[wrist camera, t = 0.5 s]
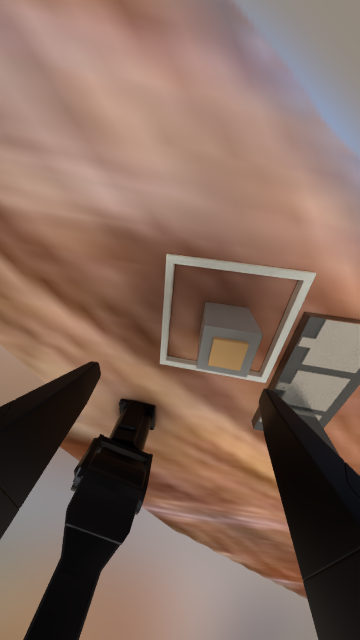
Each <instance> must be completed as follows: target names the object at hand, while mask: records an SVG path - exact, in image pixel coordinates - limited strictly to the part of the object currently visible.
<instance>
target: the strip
mask: <svg viewBox="0 0 360 640" xmlns="http://www.w3.org/2000/svg"><path fill="white" fill-rule="evenodd" d="M359 385H360V320H356V319H349V318H342V317H335V316H328V315H321V314H314V313H308V312H304V314H303V316H302V319H301V321H300V323H299V325H298V327H297V329H296V331H295V333H294V335H293V337H292V339H291V341H290V343H289V346H288V348H287V350H286V352H285V354H284V356H283V358H282V360H281V362H280V364H279V366H278V368H277V370H276V372H275V375H274V377H273V379H272V381H271V383H270V385H269V387H268V389H272V390H274V391H275V392H276V393H277V394H278V395H279V396H280V397H281V398H282V399H283V400H284V401H285V402H286V403H287V404H288V405H289V406H290V407H291V408H292V409H293V410H294V411H295V412H296V413H297V414H300V415H306V416H311V417H316V418H317V419H318V421H319V422H320V424H321V426H322V427H323V428H324V427H325V426H326V425H327V423H328V422H329V421H330V420H331V419H332V417H333V416H334V415H335V414H336V413H337V411H338V410H339V409H340V408H341V406H342V405H343V404H344V403H345V402H346V400H347V399H348V398H349V397H350V396H351V394H352V393H353V392H354V391H355V389H356V388H357V387H358V386H359ZM252 425H253V429H256V430H261V431H263V425H262V419H261V412H260V406H259V408H258V410H257V412H256V414H255V416H254V418H253V420H252ZM263 432H264V431H263Z"/></svg>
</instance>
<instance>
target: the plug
mask: <svg viewBox="0 0 360 640" xmlns="http://www.w3.org/2000/svg"><path fill="white" fill-rule="evenodd" d="M262 336H263V333H262V331H261V330H260V328H259V326H258V324H257V322H256V321H255V319H254V317H253V315H252V313H251V312H250V310H249V308H246V307H239V306H232V305H225V304H218V303H212V302H205V307H204V312H203V318H202V323H201V329H200V334H199V343H198V354H197V366H196V368H197V369H203V370H208V371H214V372H219V373H225V374H230V375H236V376H241V377H247V375H248V373H249V370H250V368H251V365H252V362H253V360H254V357H255V355H256V352H257V349H258V347H259V344H260V342H261V339H262Z"/></svg>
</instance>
